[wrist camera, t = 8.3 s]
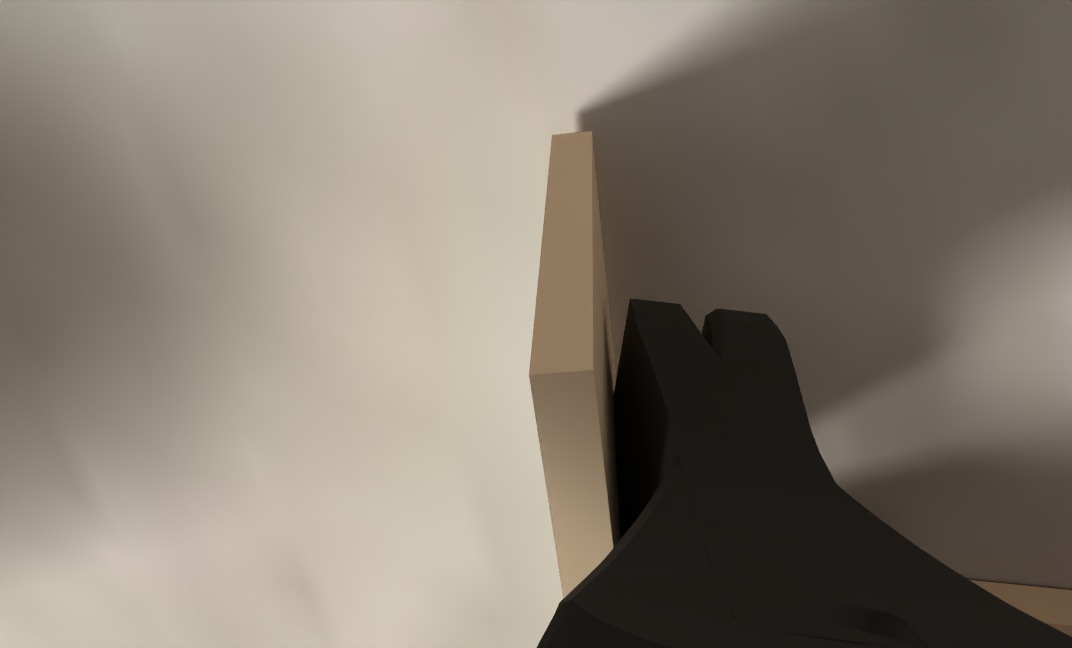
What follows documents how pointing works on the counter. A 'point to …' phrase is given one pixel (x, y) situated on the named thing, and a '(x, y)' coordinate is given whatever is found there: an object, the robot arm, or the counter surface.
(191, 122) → the counter surface
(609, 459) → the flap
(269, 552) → the counter surface
